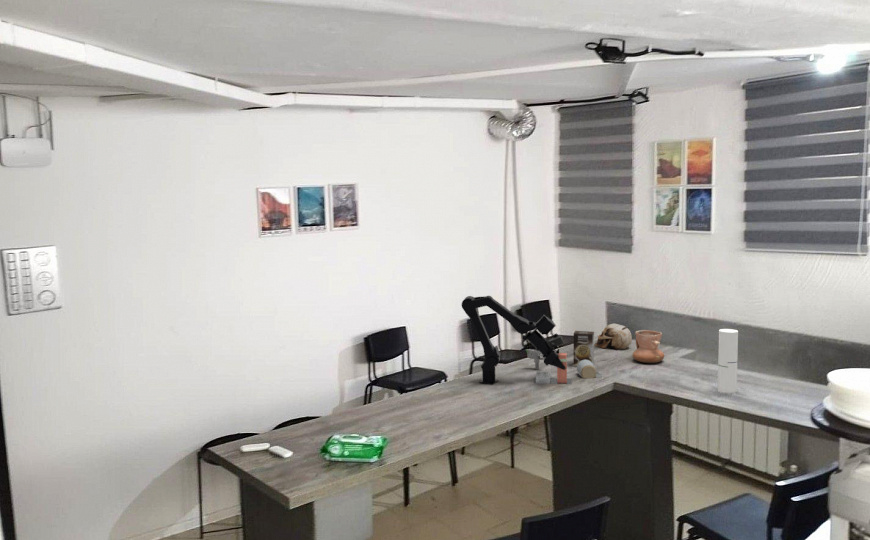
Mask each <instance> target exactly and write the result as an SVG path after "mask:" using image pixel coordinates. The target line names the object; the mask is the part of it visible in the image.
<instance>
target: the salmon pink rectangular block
mask: <svg viewBox="0 0 870 540" xmlns="http://www.w3.org/2000/svg"><path fill="white" fill-rule="evenodd" d="M557 354H558V353H557ZM559 359H560V360H561V362H562V363H563V364H564V366H565V367H566V369H565V370H563V369H561V368H558V367H556V374H557V375H556V376H557V377H556V379H557V383H567V379H568V364H567V363H568V352H559Z"/></svg>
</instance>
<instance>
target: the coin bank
mask: <svg viewBox="0 0 870 540" xmlns="http://www.w3.org/2000/svg"><path fill="white" fill-rule="evenodd" d="M632 340H633V336H632V333H631V330H630V329H629V328H628V327H626V326H625V325H622V324H619V323H618V324H617V323H609V324H608V325H606V326H605V328H603V330H602V332H601V334H599V335H598V337H597V340H596V342H594V347H597V348H601V349H608V348H610V349H615V350H619V349H621V350H626V349H628V347H629V346H630V345H631V344H632ZM625 348H626V349H625ZM619 351H620V350H619Z"/></svg>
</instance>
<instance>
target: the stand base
mask: <svg viewBox="0 0 870 540" xmlns="http://www.w3.org/2000/svg"><path fill="white" fill-rule="evenodd" d="M551 374H552V372H551V371H549V372H548V371H536V373H535V377H534V380H533V384H545V385H547V384H548V385H549V384H550V385H572V379H573V378H567V383H557V378H552V377H551Z"/></svg>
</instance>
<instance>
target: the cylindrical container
mask: <svg viewBox="0 0 870 540" xmlns="http://www.w3.org/2000/svg"><path fill="white" fill-rule="evenodd" d="M738 348H739V330H737V329H733V328H720V329H719V330H718V359H717V360H718V361H717V364H718V365H717V391H718V392H719V393H722V394H723V393H724V394H736V393H737V390H738V353H739V351H738V350H739V349H738Z"/></svg>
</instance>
